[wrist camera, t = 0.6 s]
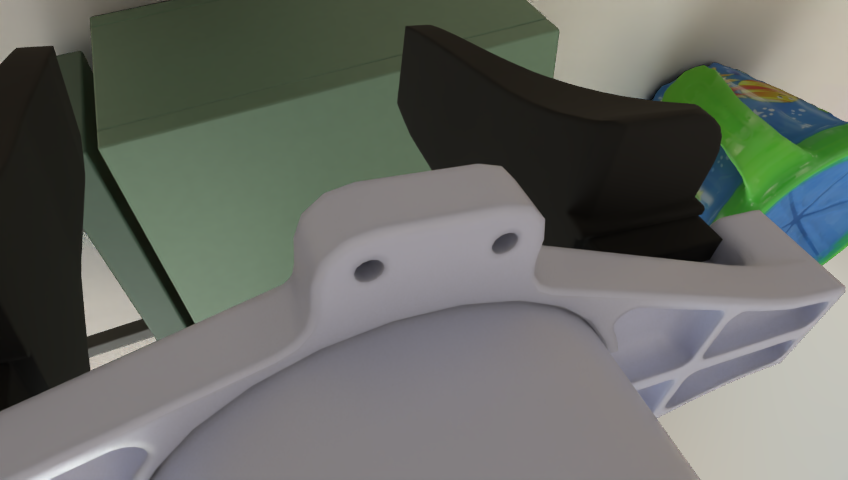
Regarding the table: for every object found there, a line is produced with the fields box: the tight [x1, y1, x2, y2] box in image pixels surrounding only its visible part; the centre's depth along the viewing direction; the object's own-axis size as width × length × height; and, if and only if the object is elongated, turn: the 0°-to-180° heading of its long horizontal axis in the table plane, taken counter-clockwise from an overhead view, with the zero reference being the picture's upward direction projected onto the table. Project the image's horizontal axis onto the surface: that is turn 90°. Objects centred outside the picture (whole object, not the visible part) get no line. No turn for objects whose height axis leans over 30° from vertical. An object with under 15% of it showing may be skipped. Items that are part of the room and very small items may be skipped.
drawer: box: [56, 51, 195, 358], centre depth 24 cm, size 17×12×6 cm
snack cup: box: [652, 63, 848, 265], centre depth 33 cm, size 16×10×10 cm
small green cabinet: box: [90, 0, 559, 324], centre depth 25 cm, size 14×14×8 cm
